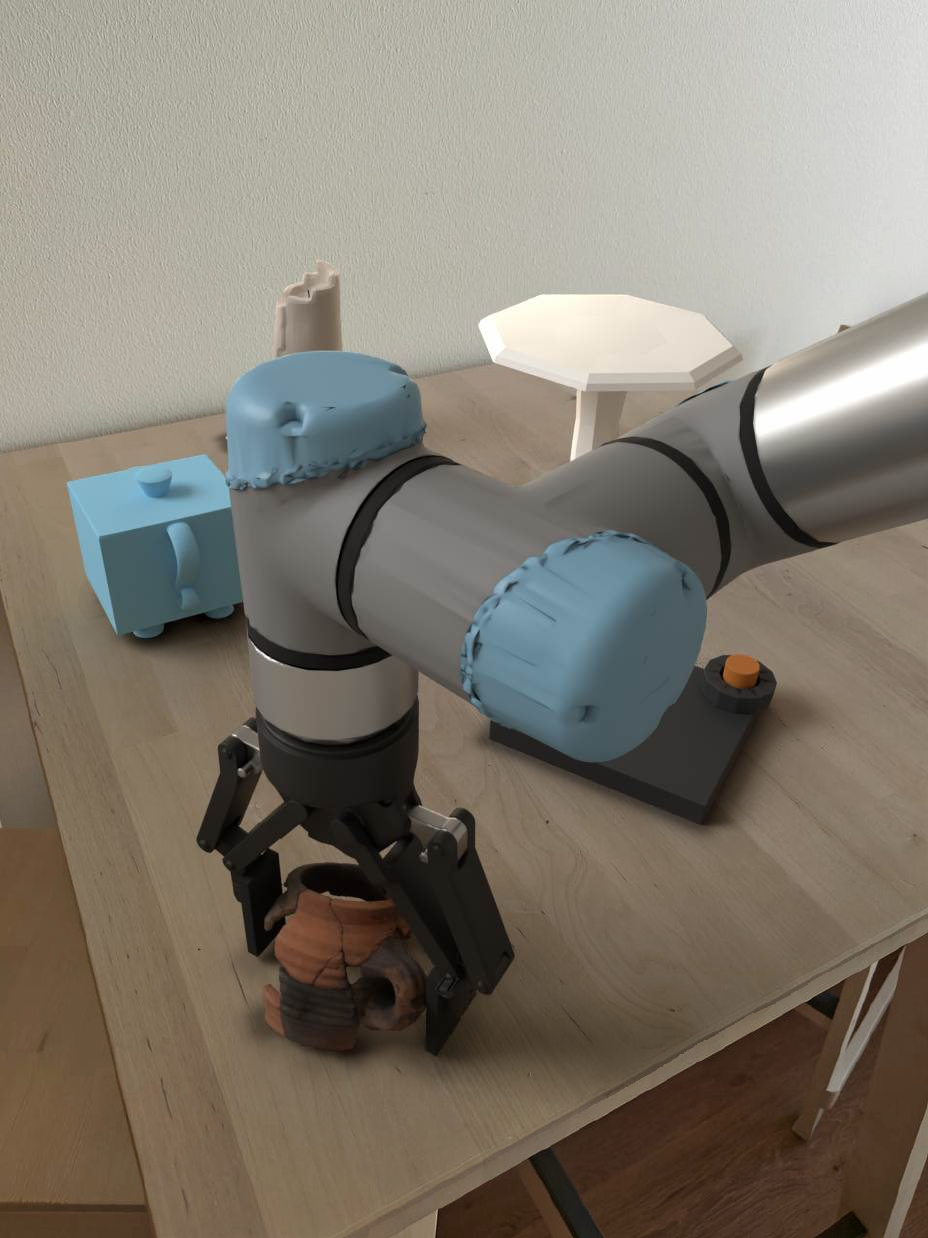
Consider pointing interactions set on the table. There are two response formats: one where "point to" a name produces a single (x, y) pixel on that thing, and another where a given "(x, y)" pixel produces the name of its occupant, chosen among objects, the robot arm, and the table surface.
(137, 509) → the teapot
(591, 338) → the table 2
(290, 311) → the candle
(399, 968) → the pottery mug
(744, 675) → the scale button
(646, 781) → the scale
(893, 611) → the table surface
